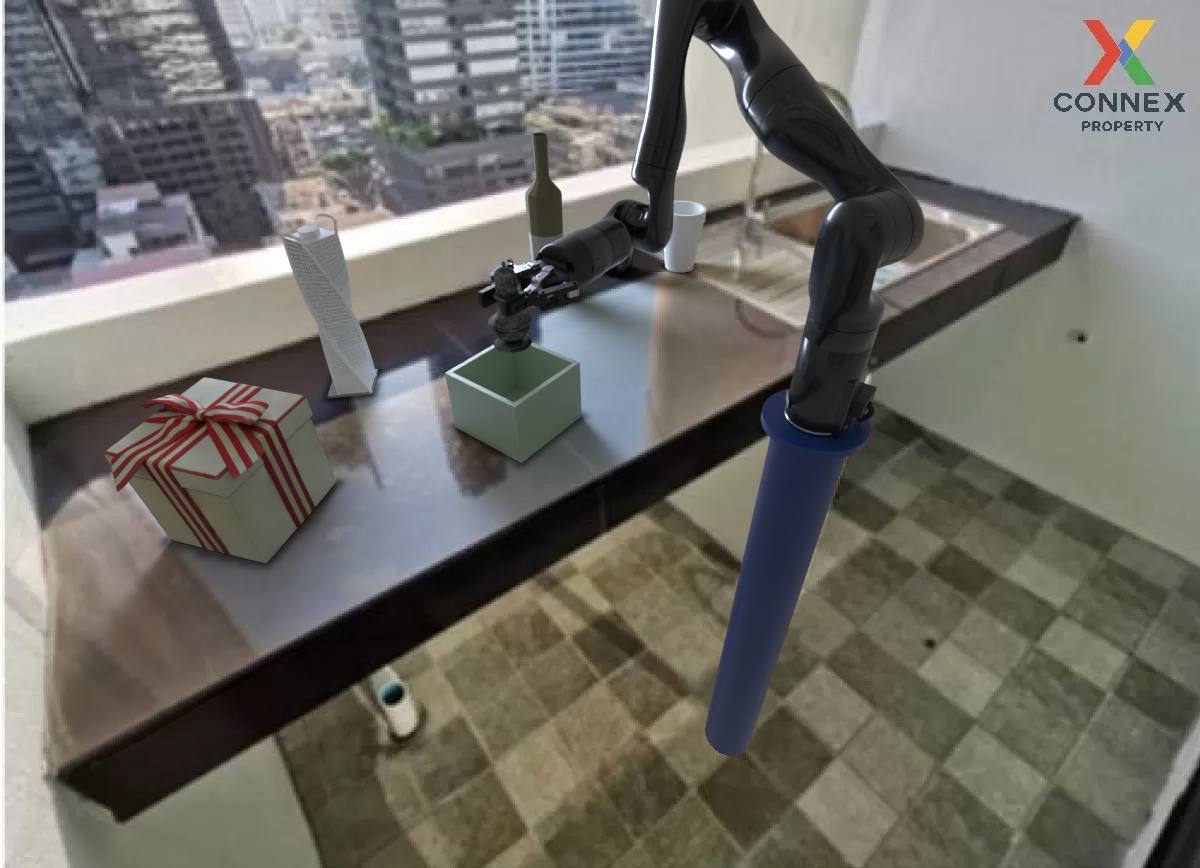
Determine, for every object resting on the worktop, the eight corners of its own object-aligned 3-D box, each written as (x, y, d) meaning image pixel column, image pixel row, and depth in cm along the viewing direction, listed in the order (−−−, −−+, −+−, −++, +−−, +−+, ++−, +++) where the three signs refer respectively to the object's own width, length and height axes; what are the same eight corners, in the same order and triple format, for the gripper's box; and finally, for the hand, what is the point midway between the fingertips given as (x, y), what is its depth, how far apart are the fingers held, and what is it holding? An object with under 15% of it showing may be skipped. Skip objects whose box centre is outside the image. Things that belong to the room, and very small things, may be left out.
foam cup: (686, 279, 130) (691, 219, 122) (650, 268, 135) (653, 209, 127) (707, 264, 136) (714, 206, 128) (672, 254, 141) (677, 197, 132)
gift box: (142, 567, 71) (57, 458, 60) (241, 463, 85) (187, 359, 74) (273, 588, 69) (209, 478, 58) (352, 478, 83) (314, 372, 72)
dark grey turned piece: (517, 358, 81) (508, 274, 73) (482, 347, 83) (470, 265, 75) (542, 338, 85) (535, 256, 77) (508, 328, 87) (498, 248, 79)
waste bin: (581, 416, 93) (580, 362, 87) (521, 463, 85) (514, 407, 79) (517, 386, 99) (511, 333, 93) (455, 427, 91) (444, 372, 85)
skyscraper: (386, 370, 103) (341, 204, 86) (381, 397, 97) (330, 225, 79) (335, 374, 102) (279, 208, 85) (326, 402, 96) (263, 229, 78)
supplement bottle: (630, 263, 137) (632, 210, 129) (634, 276, 132) (635, 221, 124) (600, 264, 137) (600, 211, 129) (602, 277, 131) (602, 222, 124)
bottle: (572, 290, 127) (566, 134, 108) (545, 300, 123) (534, 141, 104) (553, 278, 131) (544, 127, 112) (526, 288, 128) (512, 133, 108)
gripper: (538, 224, 89) (449, 264, 79) (615, 247, 82) (529, 294, 72) (541, 271, 94) (458, 315, 83) (615, 297, 87) (534, 348, 77)
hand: (492, 305), depth 78 cm, fingers closed on dark grey turned piece, 3 cm apart
